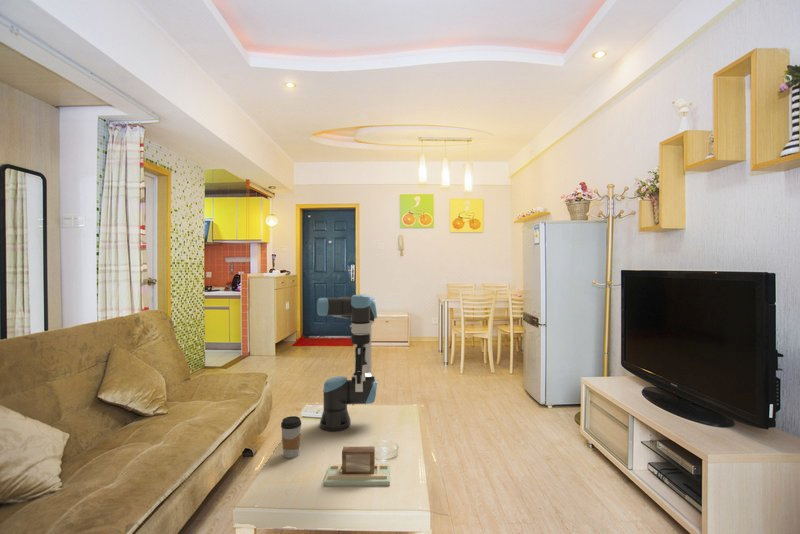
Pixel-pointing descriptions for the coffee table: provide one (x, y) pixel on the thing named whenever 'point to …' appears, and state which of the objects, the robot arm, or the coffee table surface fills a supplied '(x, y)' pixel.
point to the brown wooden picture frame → (358, 460)
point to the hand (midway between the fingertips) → (360, 386)
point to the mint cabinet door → (357, 477)
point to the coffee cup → (291, 436)
